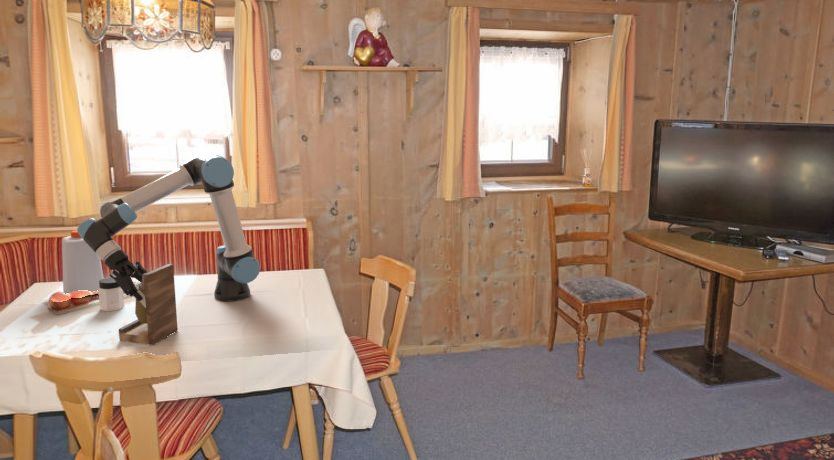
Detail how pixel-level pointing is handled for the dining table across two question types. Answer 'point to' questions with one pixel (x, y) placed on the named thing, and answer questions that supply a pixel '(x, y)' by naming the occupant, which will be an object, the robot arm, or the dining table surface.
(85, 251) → the plastic bottle
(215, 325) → the dining table surface
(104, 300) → the jar
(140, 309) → the squeeze bottle
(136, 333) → the wooden bookend
